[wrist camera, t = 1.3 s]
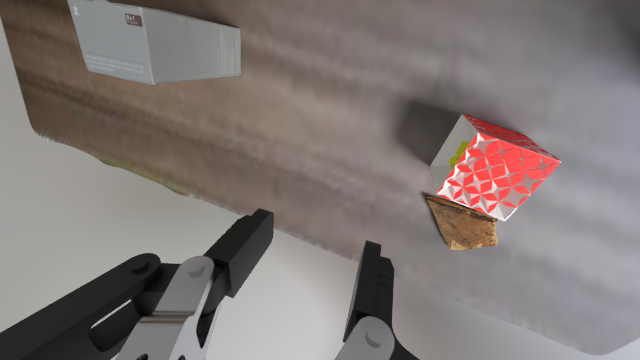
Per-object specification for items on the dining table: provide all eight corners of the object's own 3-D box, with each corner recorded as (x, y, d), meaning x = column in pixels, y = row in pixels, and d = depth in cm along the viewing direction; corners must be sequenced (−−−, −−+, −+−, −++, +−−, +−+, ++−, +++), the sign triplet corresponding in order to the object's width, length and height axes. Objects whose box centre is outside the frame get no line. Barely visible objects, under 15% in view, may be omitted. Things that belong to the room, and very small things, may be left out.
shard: (425, 192, 37) (426, 198, 35) (481, 176, 33) (485, 182, 32) (448, 245, 40) (449, 253, 38) (502, 235, 36) (506, 244, 35)
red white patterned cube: (461, 113, 30) (478, 131, 23) (525, 135, 29) (561, 161, 22) (429, 166, 34) (435, 195, 28) (484, 187, 33) (504, 222, 27)
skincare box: (197, 68, 38) (86, 78, 25) (191, 13, 34) (55, -9, 21) (245, 77, 36) (153, 94, 23) (243, 21, 33) (133, 3, 19)
